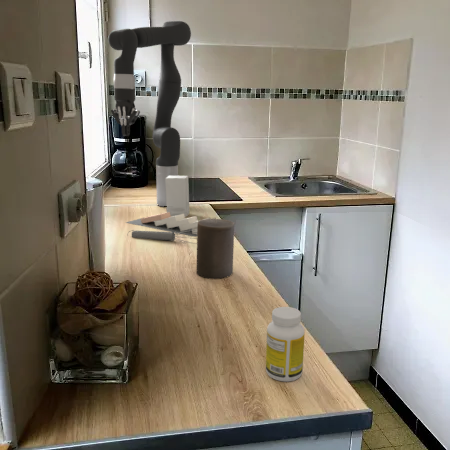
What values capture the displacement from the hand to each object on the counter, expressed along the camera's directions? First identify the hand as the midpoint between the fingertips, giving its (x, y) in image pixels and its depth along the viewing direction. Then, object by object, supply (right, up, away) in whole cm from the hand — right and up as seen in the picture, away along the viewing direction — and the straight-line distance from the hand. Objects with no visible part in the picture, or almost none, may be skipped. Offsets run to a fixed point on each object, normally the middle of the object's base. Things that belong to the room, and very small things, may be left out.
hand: (126, 135), depth 181 cm
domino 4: (+23, -34, -12) cm, 43 cm away
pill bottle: (+47, -58, -99) cm, 124 cm away
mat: (+17, -34, -8) cm, 39 cm away
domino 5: (+27, -35, -15) cm, 47 cm away
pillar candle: (+34, -46, -52) cm, 78 cm away
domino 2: (+13, -32, -6) cm, 36 cm away
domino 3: (+18, -33, -9) cm, 39 cm away
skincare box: (+18, -30, +11) cm, 37 cm away
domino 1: (+8, -31, -2) cm, 32 cm away
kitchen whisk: (+21, -40, -26) cm, 52 cm away
